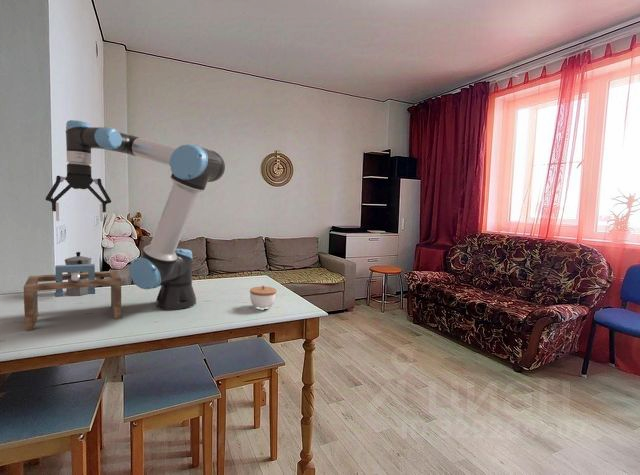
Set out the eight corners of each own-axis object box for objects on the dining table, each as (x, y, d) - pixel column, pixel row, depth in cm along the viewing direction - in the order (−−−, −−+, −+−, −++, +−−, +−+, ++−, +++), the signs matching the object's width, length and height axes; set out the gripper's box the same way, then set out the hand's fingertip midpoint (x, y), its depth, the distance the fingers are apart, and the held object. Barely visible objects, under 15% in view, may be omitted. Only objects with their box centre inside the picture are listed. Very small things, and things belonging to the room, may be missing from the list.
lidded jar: (280, 308, 142) (281, 286, 141) (260, 313, 134) (260, 290, 133) (264, 302, 149) (265, 281, 148) (244, 307, 141) (244, 284, 140)
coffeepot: (64, 290, 150) (63, 250, 148) (90, 288, 156) (89, 249, 154) (66, 299, 138) (65, 255, 136) (94, 296, 144) (93, 254, 142)
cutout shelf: (117, 305, 134) (116, 270, 133) (121, 318, 121) (121, 279, 120) (30, 315, 119) (29, 276, 118) (25, 330, 106) (23, 286, 105)
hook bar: (79, 273, 126) (79, 266, 125) (80, 282, 113) (79, 275, 113) (71, 273, 124) (71, 267, 124) (71, 283, 112) (71, 275, 112)
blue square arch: (94, 290, 125) (94, 263, 124) (95, 293, 121) (95, 265, 120) (55, 293, 118) (55, 264, 117) (55, 297, 114) (54, 267, 113)
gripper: (34, 159, 118) (36, 221, 120) (118, 167, 132) (119, 221, 134) (36, 160, 124) (38, 219, 126) (116, 168, 138) (117, 220, 140)
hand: (80, 220), depth 130 cm, fingers open, 13 cm apart
